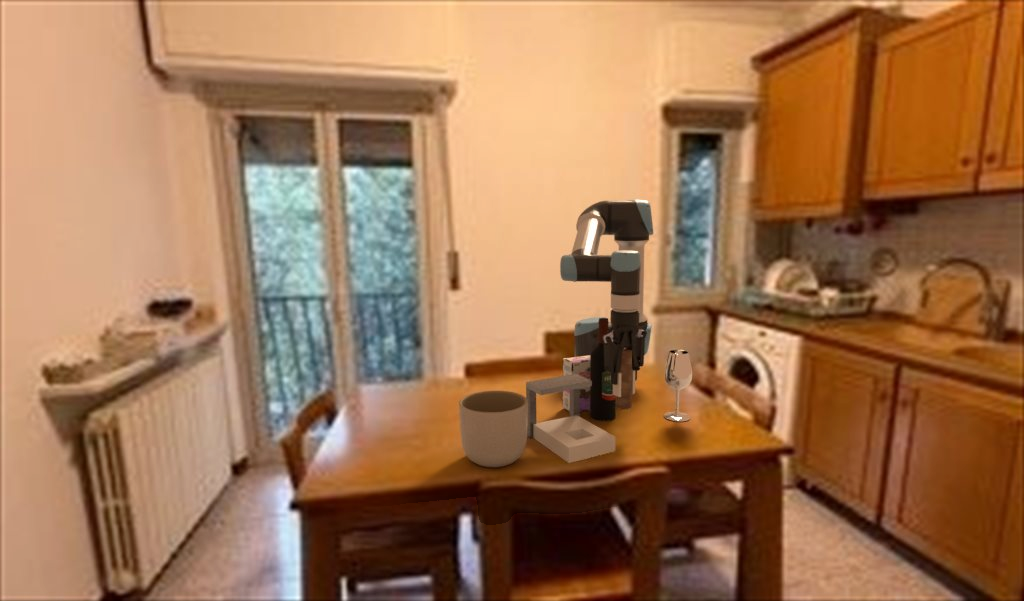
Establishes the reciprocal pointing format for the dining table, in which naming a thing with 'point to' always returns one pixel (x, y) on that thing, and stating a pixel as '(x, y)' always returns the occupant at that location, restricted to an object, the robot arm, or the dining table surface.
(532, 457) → the dining table surface
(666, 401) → the dining table surface
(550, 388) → the gray arch stand
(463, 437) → the planter
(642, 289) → the robot arm
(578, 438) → the socket deck
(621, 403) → the peg
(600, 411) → the wine bottle
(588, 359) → the candy box
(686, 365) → the wineglass
